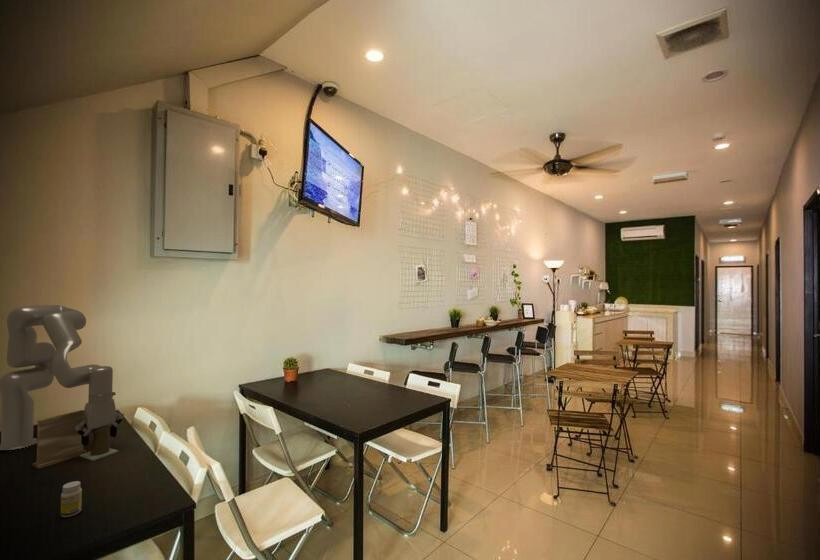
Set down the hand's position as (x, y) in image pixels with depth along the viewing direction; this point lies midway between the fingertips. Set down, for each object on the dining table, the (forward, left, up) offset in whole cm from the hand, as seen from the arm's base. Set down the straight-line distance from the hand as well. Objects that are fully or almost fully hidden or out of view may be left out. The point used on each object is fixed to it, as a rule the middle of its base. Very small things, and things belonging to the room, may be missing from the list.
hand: (99, 440), depth 156 cm
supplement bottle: (+39, -27, -6) cm, 48 cm away
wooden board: (-8, -9, -5) cm, 13 cm away
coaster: (0, 0, -5) cm, 5 cm away
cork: (0, 0, -5) cm, 5 cm away
